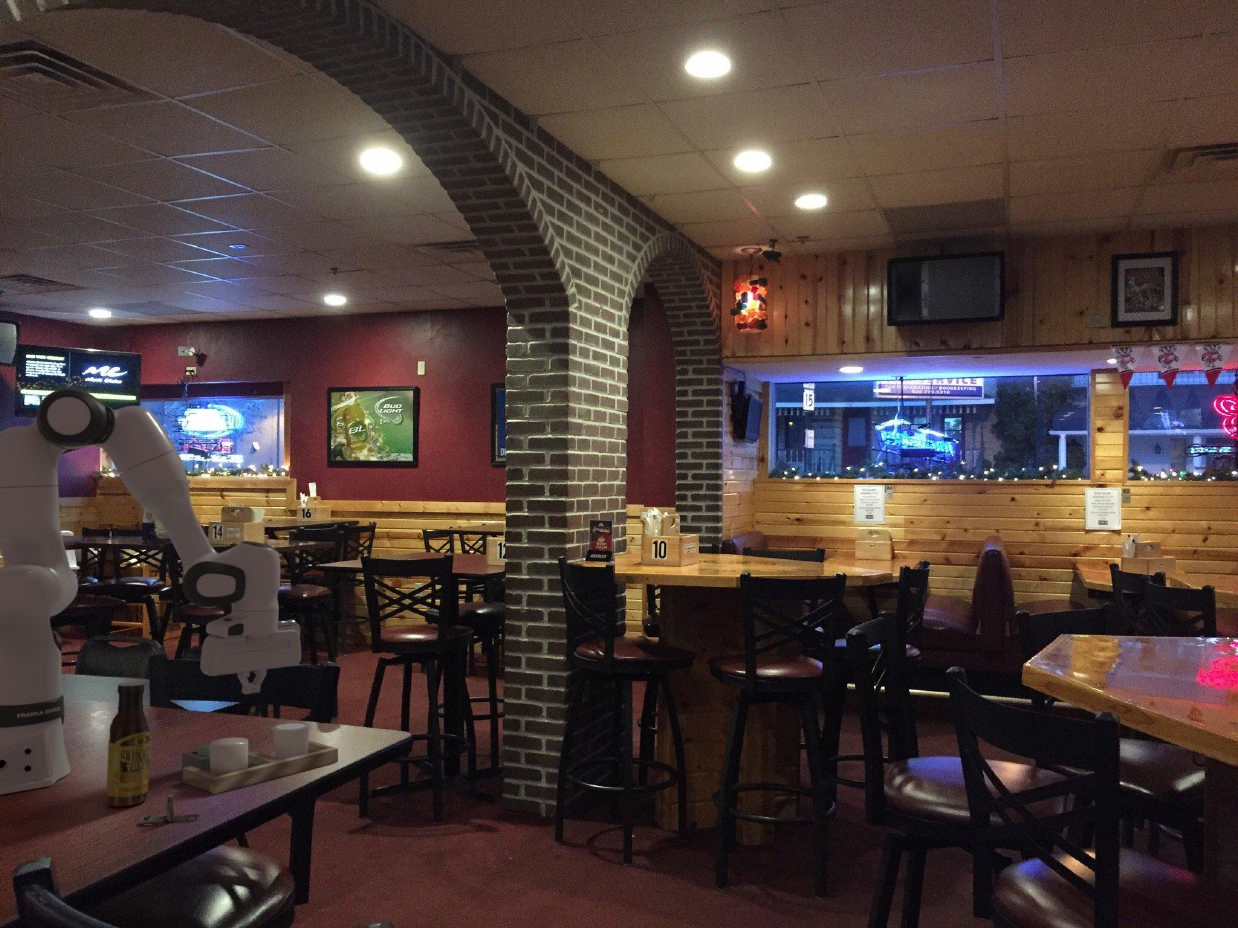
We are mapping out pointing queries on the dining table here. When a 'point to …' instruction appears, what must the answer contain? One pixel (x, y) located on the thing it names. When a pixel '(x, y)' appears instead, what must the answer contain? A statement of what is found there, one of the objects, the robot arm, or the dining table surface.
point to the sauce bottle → (128, 749)
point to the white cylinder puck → (228, 755)
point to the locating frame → (261, 769)
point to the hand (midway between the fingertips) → (250, 692)
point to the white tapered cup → (290, 739)
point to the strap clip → (170, 814)
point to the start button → (203, 750)
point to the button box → (195, 761)
